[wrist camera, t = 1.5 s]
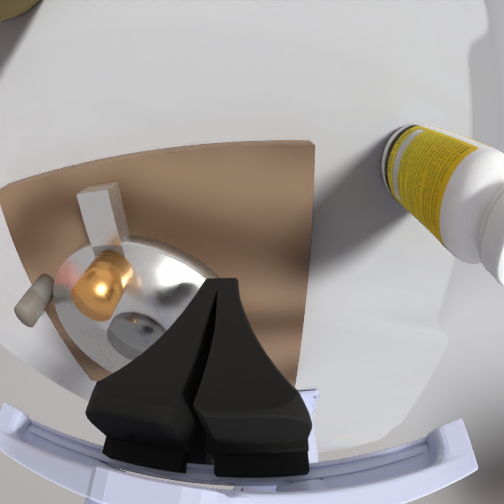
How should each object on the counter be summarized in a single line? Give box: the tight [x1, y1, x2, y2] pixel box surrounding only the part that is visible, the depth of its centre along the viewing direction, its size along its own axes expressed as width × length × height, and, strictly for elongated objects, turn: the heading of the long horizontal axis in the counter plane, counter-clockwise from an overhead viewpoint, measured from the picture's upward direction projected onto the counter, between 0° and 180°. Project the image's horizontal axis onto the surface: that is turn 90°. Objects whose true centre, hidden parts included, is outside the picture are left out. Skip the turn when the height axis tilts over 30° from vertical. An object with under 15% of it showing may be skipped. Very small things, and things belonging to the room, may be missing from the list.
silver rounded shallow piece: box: [53, 182, 220, 373], centre depth 16 cm, size 17×14×4 cm
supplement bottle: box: [382, 123, 504, 286], centre depth 10 cm, size 5×5×10 cm
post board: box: [0, 140, 315, 388], centre depth 18 cm, size 22×22×6 cm
